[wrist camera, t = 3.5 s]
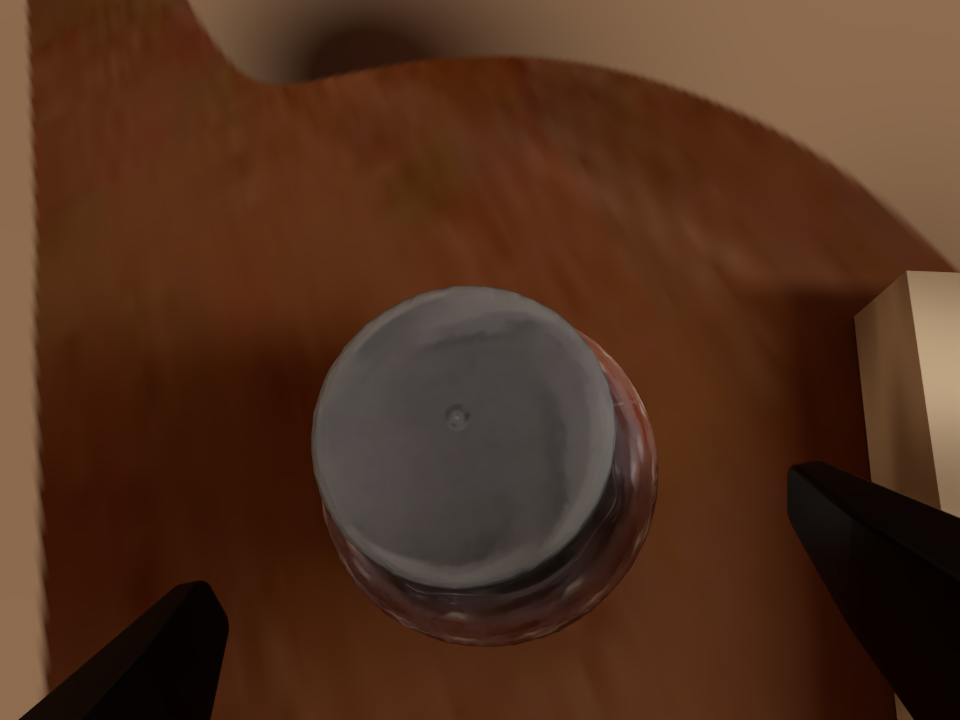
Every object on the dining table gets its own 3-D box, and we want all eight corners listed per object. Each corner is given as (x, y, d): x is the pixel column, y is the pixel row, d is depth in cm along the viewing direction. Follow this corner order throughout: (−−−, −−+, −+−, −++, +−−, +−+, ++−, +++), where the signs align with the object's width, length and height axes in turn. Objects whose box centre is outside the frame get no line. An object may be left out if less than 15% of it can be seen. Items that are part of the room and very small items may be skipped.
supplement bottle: (392, 469, 19) (178, 334, 8) (551, 384, 19) (543, 147, 8) (475, 652, 16) (328, 790, 6) (653, 551, 17) (813, 514, 6)
